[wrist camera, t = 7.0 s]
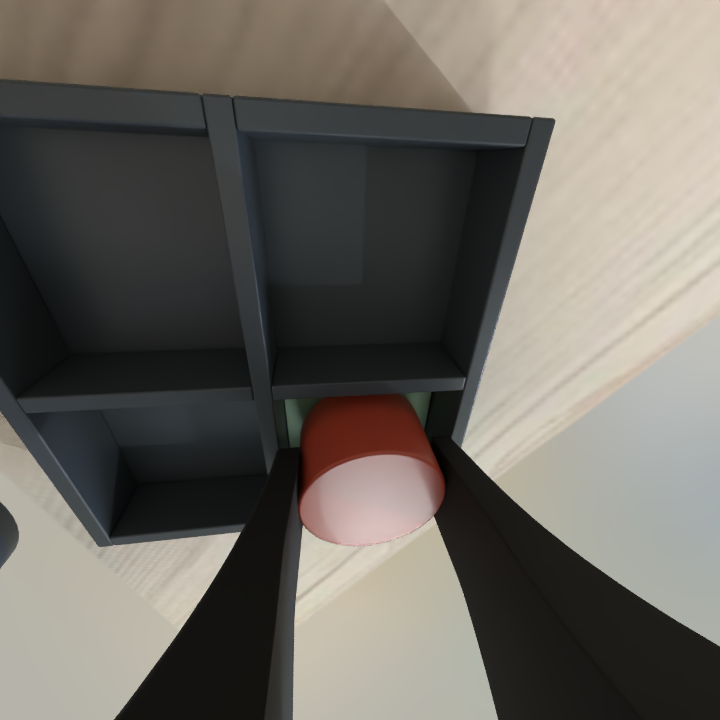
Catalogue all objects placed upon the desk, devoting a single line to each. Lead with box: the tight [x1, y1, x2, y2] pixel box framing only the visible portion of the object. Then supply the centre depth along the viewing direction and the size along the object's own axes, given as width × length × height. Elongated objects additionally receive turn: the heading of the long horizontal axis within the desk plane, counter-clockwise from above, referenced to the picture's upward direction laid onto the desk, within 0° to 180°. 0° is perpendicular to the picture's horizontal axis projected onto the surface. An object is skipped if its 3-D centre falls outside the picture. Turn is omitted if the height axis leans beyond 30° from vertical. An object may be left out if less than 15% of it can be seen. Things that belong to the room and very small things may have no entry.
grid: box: [0, 79, 555, 547], centre depth 10 cm, size 13×13×3 cm
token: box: [298, 393, 446, 546], centre depth 10 cm, size 4×4×3 cm
